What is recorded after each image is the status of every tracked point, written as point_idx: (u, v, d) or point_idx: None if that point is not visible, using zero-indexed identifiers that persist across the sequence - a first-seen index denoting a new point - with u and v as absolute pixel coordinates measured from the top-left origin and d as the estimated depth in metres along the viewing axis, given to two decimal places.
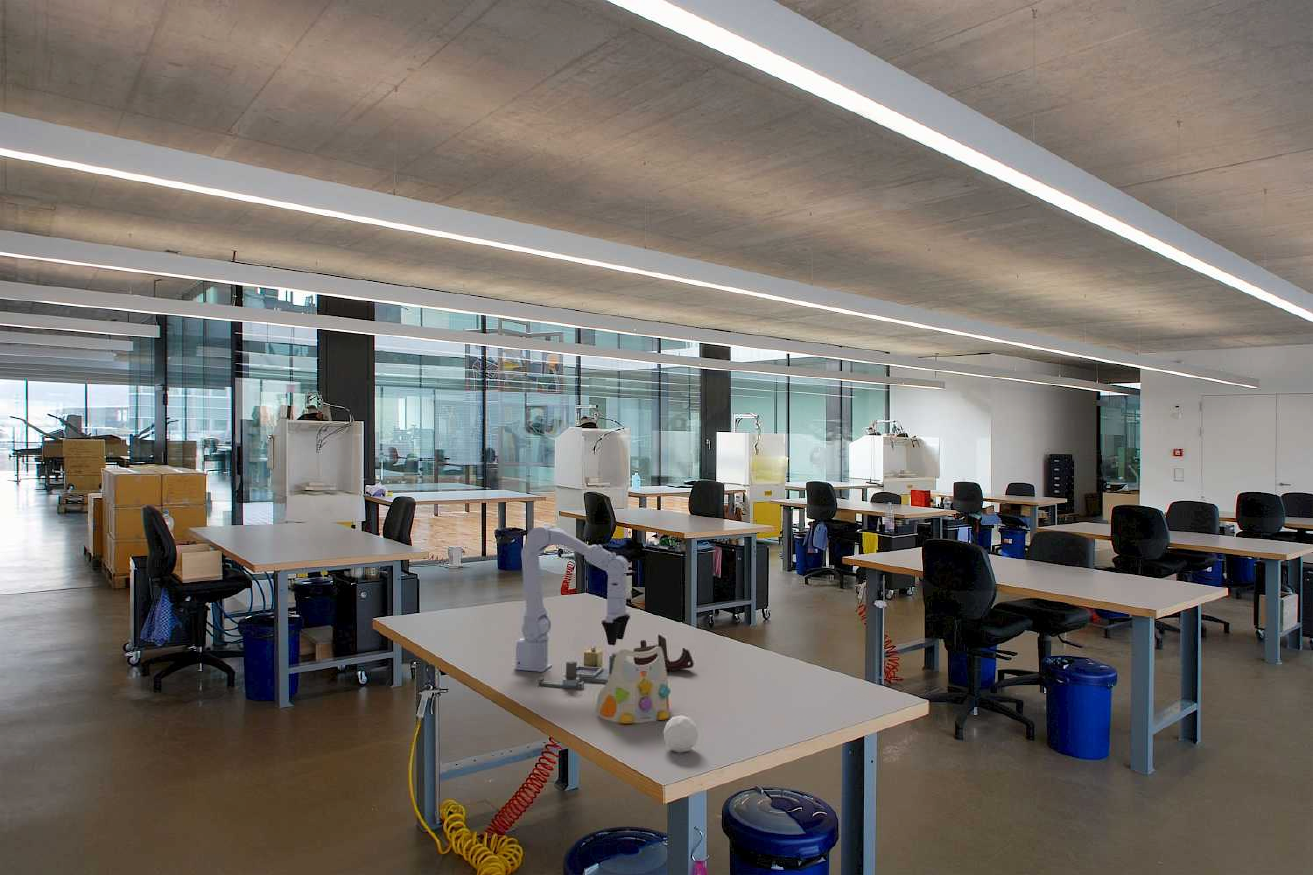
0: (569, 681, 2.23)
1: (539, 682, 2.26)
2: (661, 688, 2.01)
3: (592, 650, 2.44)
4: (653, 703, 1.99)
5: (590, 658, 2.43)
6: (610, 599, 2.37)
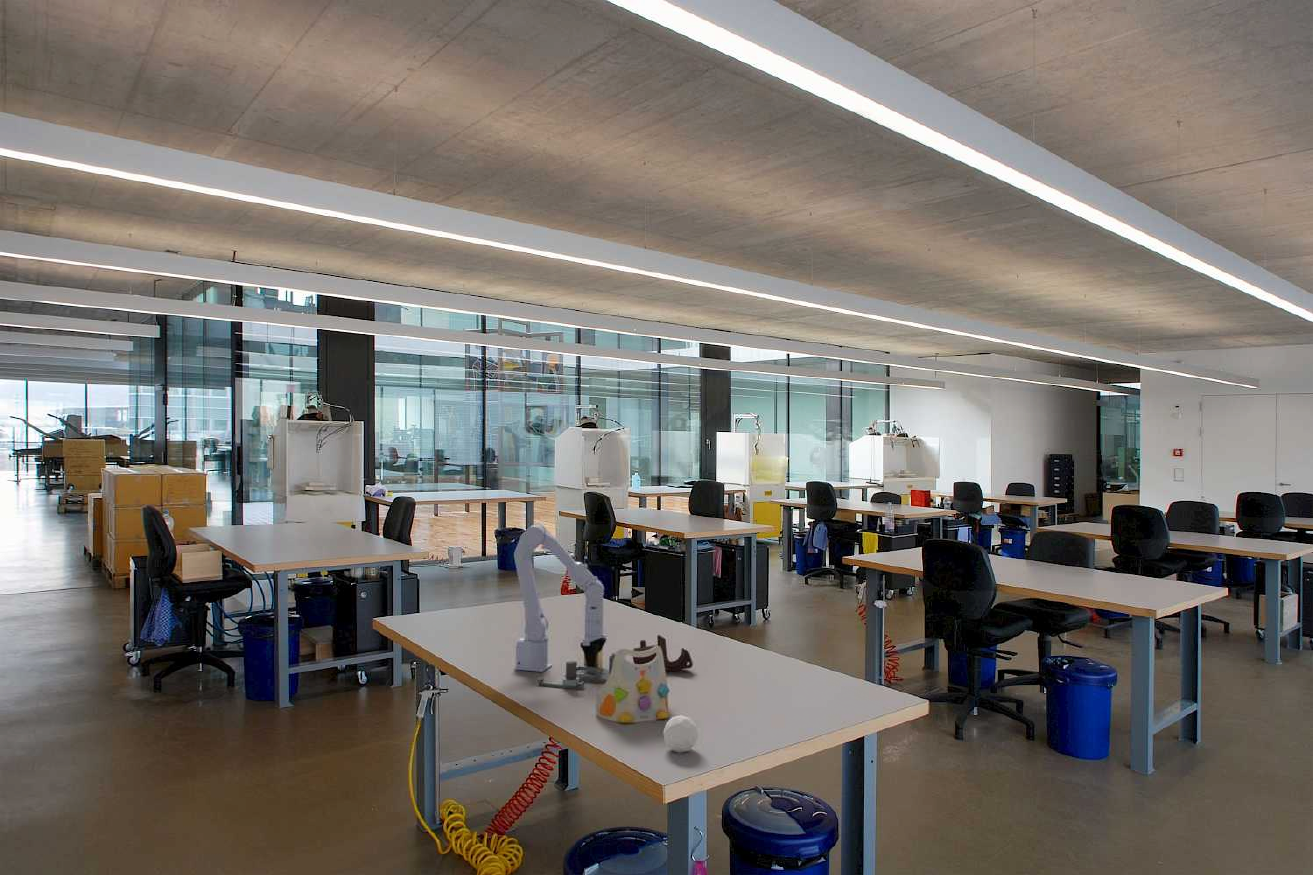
0: (569, 681, 2.23)
1: (539, 682, 2.26)
2: (660, 687, 2.01)
3: None
4: (652, 702, 1.99)
5: None
6: (587, 622, 2.43)
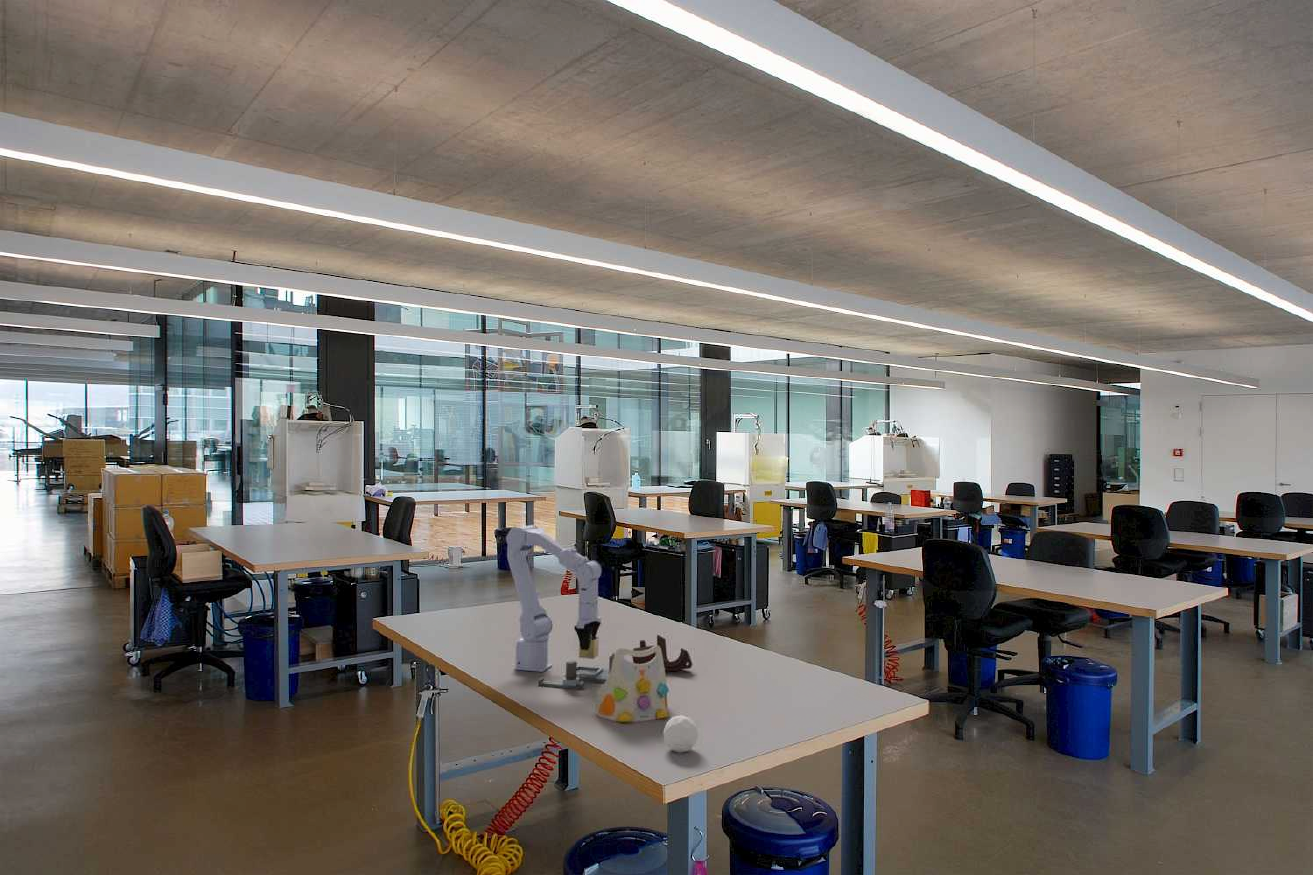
0: (569, 681, 2.23)
1: (539, 682, 2.26)
2: (659, 687, 2.02)
3: None
4: (651, 702, 2.00)
5: None
6: (581, 605, 2.35)
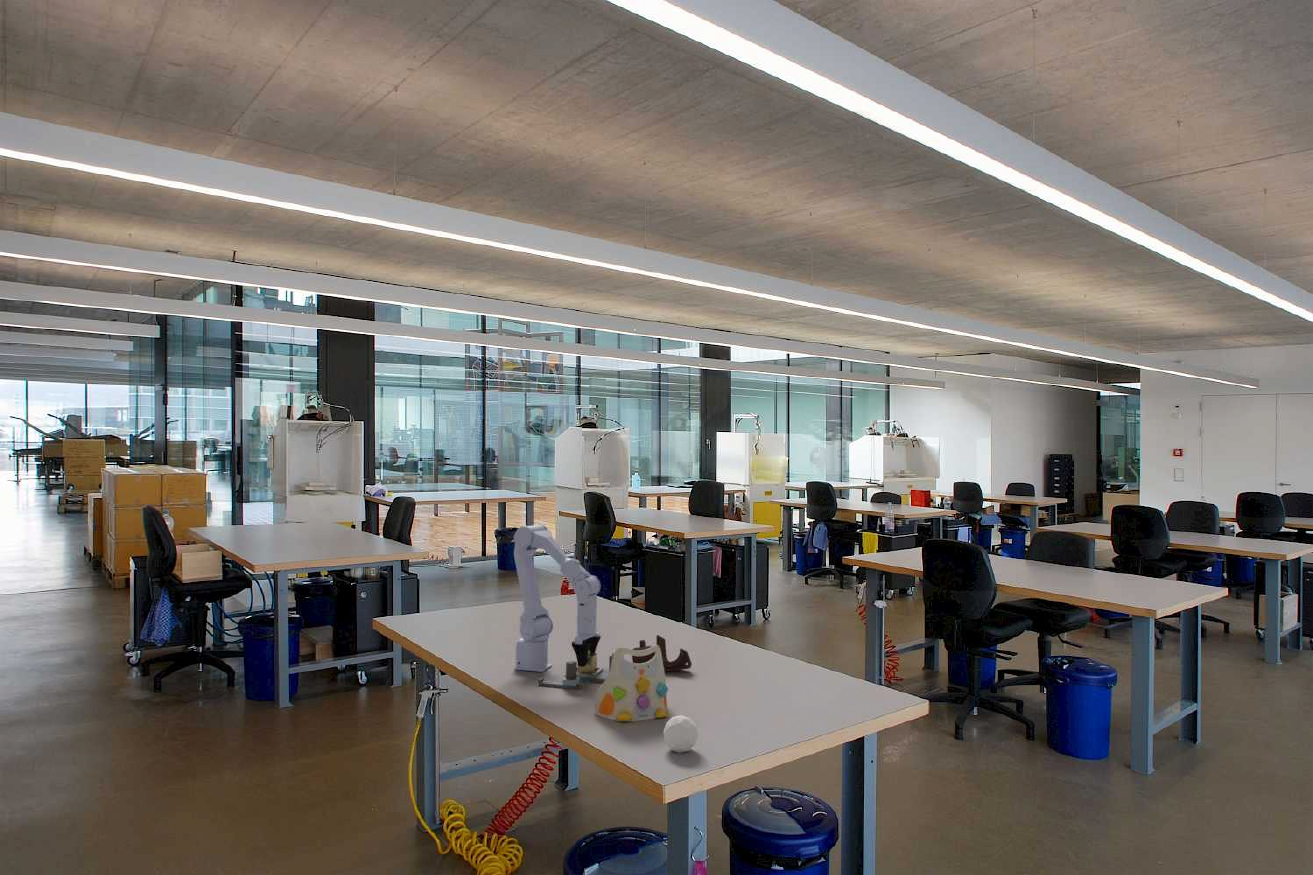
0: (569, 681, 2.23)
1: (539, 682, 2.26)
2: (659, 686, 2.02)
3: None
4: (651, 701, 2.00)
5: None
6: (580, 620, 2.34)
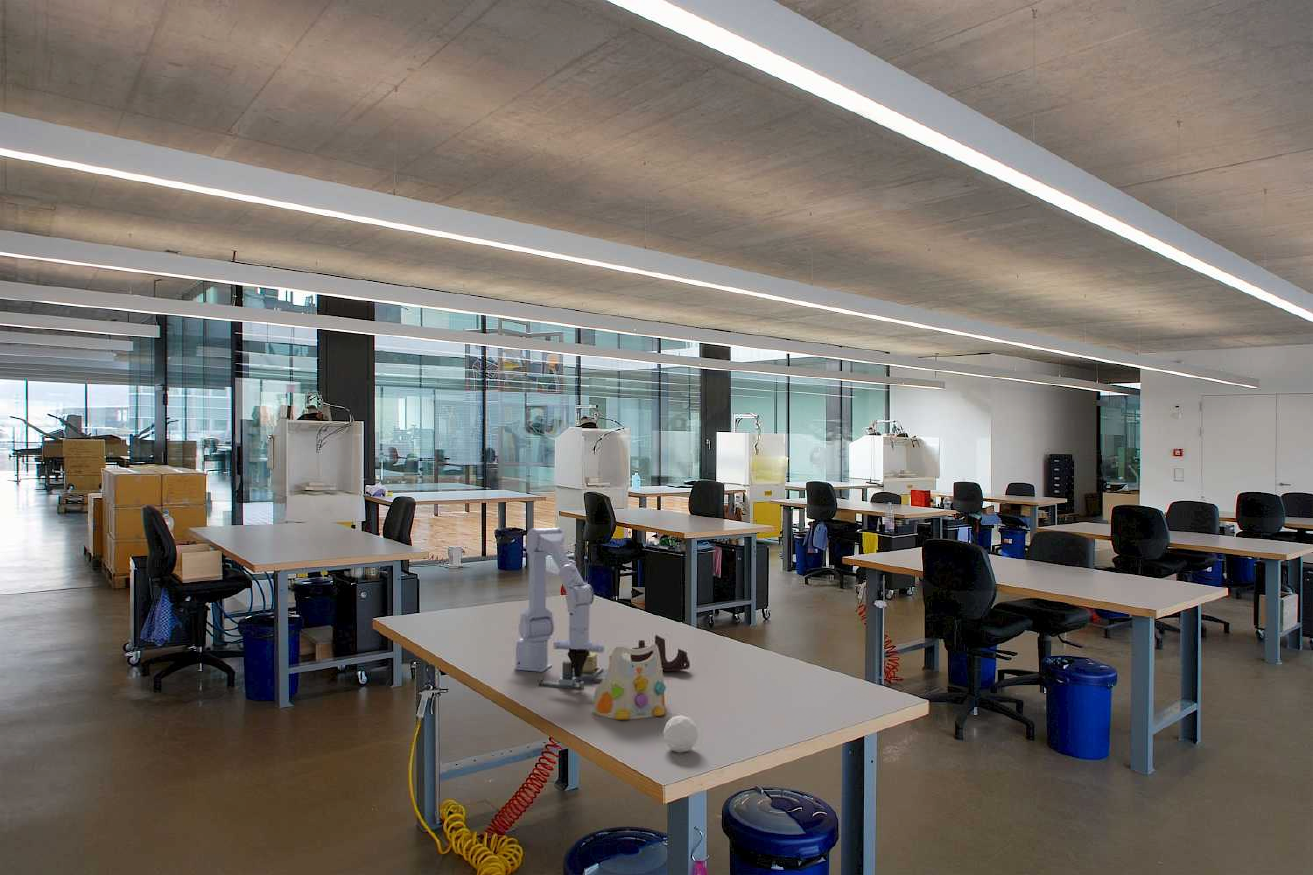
0: (565, 681, 2.24)
1: (539, 682, 2.26)
2: (657, 685, 2.03)
3: None
4: (649, 699, 2.01)
5: None
6: None
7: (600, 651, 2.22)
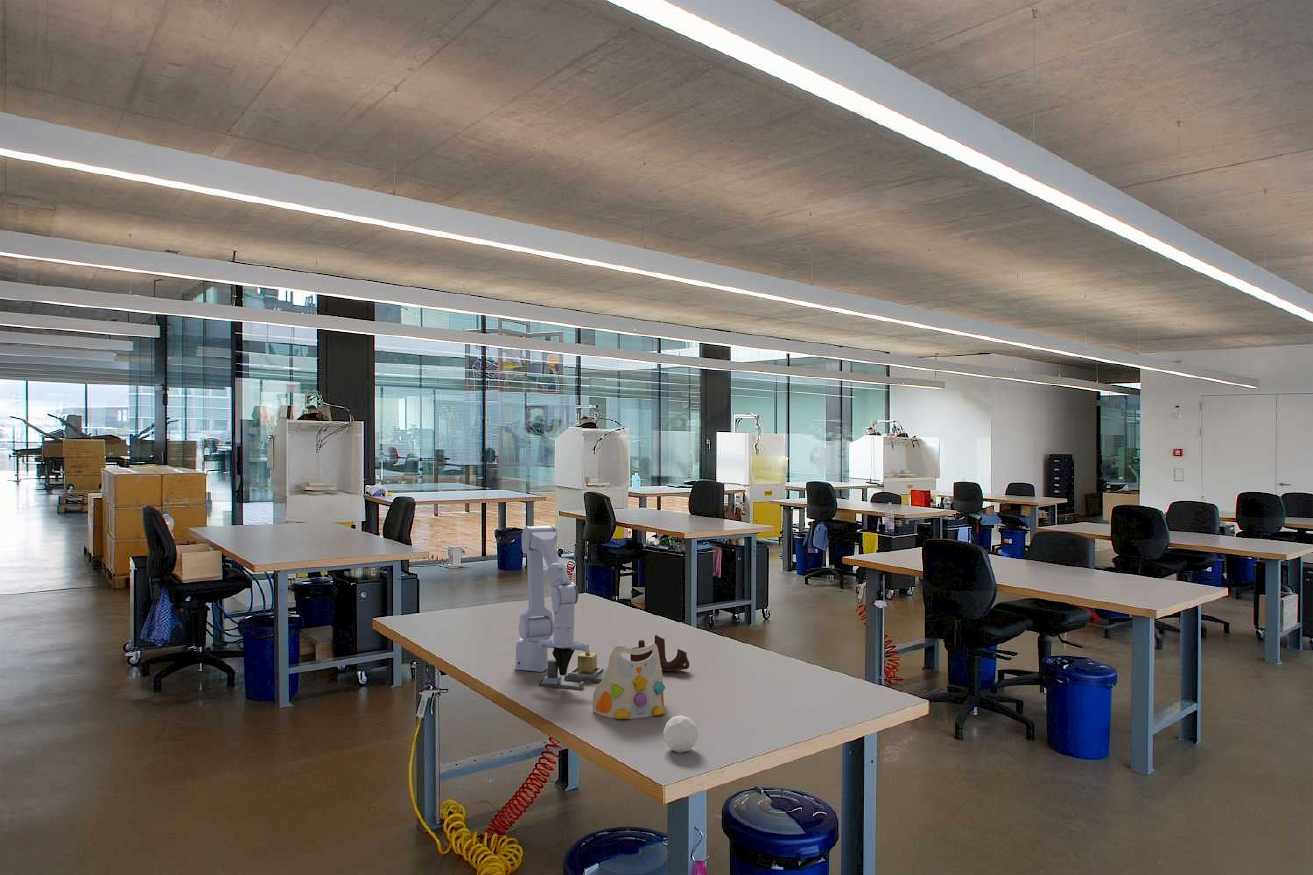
0: (550, 679, 2.25)
1: (539, 682, 2.26)
2: (656, 684, 2.04)
3: (586, 654, 2.35)
4: (648, 699, 2.02)
5: (584, 662, 2.33)
6: None
7: (585, 650, 2.23)
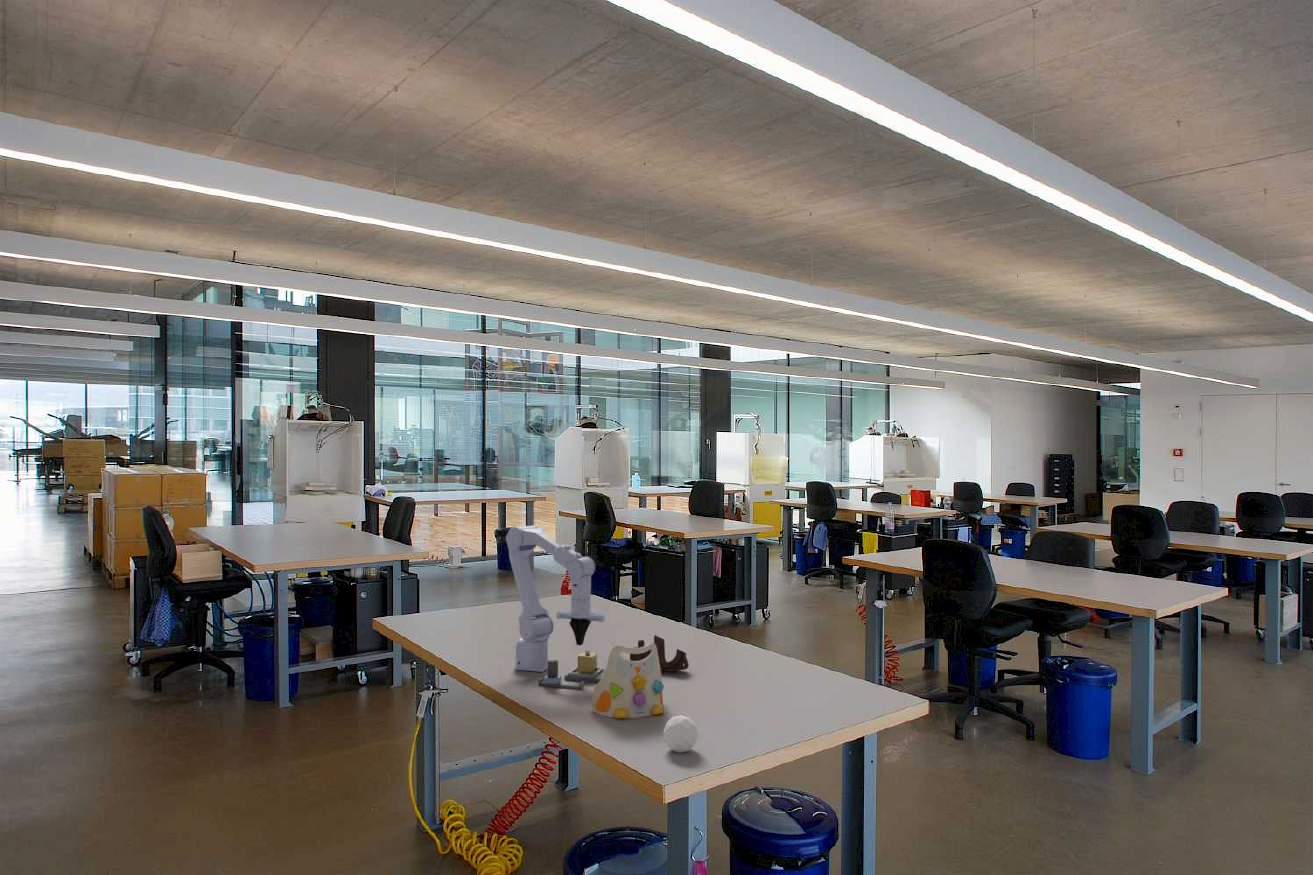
0: (550, 679, 2.25)
1: (539, 682, 2.26)
2: (655, 684, 2.04)
3: (586, 654, 2.35)
4: (647, 698, 2.02)
5: (584, 662, 2.33)
6: None
7: (601, 620, 2.31)
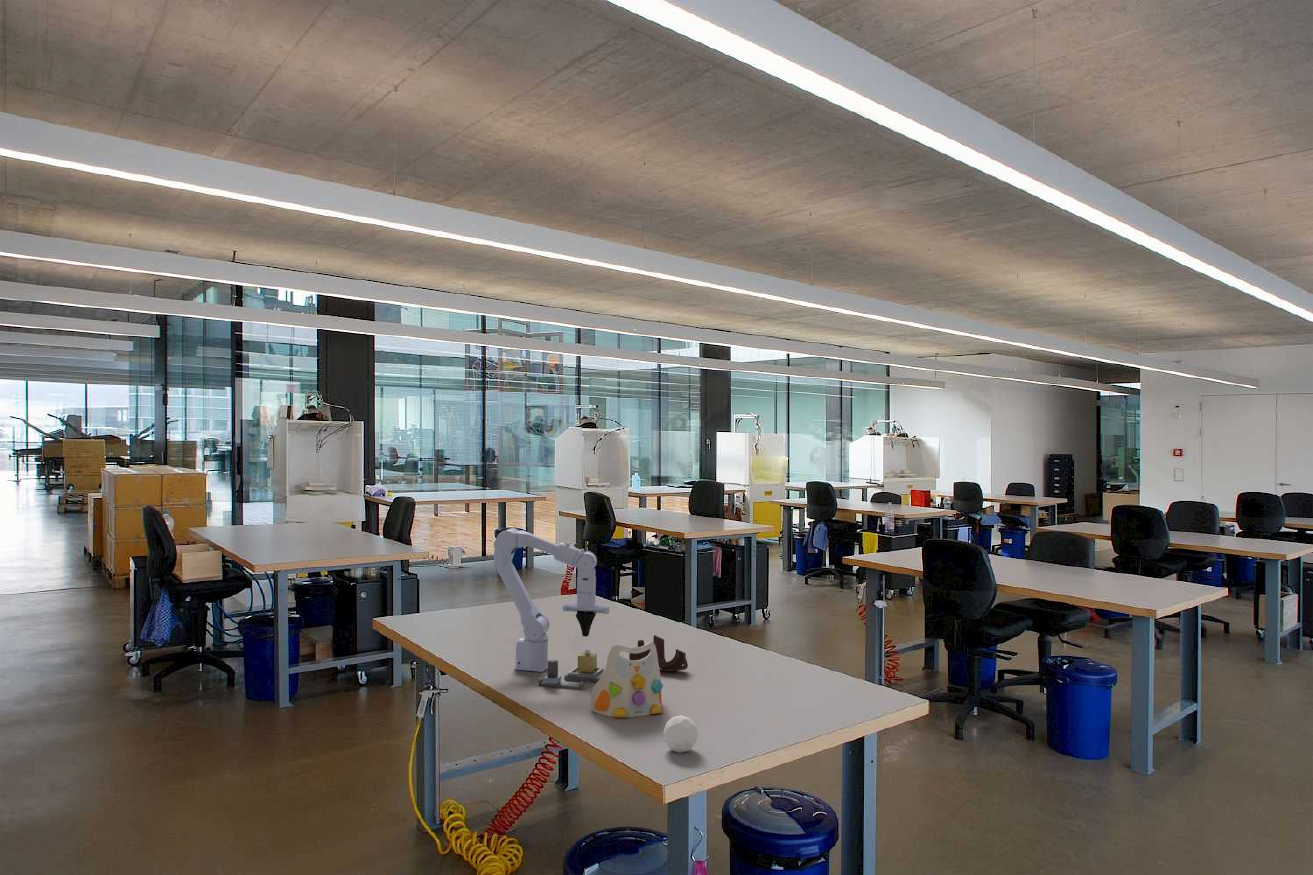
0: (550, 679, 2.25)
1: (539, 682, 2.26)
2: (654, 683, 2.05)
3: (586, 654, 2.35)
4: (646, 697, 2.03)
5: (584, 662, 2.33)
6: None
7: (606, 612, 2.41)
